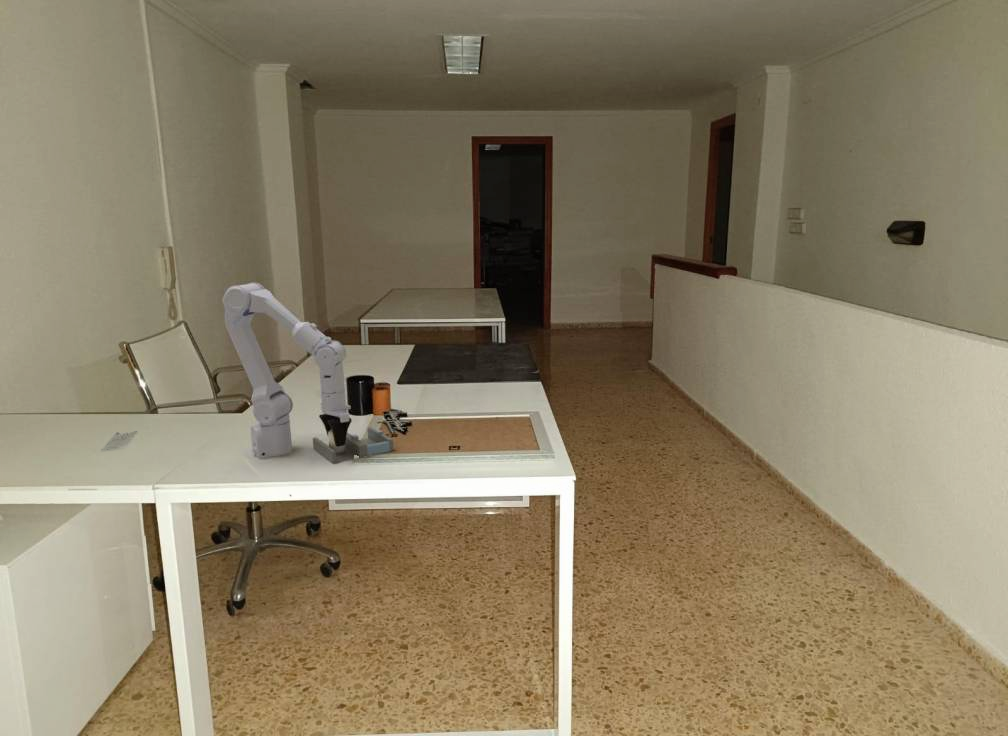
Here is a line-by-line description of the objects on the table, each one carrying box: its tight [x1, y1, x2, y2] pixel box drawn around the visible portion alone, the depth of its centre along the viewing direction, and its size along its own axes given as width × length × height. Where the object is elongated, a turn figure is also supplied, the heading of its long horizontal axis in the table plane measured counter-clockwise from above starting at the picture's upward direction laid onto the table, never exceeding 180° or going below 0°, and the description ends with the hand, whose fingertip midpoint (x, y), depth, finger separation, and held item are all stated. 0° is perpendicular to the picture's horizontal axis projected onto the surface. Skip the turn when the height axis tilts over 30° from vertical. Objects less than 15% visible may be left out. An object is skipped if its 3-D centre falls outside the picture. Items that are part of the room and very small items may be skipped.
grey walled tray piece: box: [312, 426, 394, 465], centre depth 176 cm, size 16×14×5 cm
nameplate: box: [376, 408, 413, 436], centre depth 203 cm, size 28×2×10 cm
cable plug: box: [327, 429, 346, 453], centre depth 173 cm, size 4×4×7 cm
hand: (337, 443), depth 174 cm, fingers closed on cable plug, 4 cm apart
